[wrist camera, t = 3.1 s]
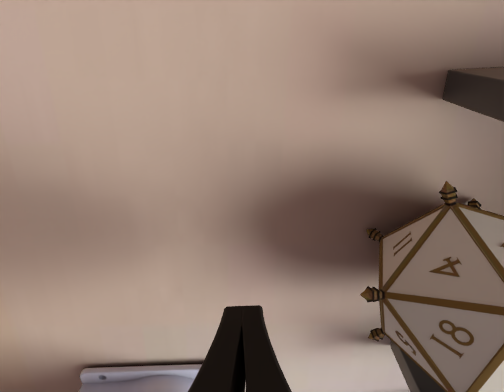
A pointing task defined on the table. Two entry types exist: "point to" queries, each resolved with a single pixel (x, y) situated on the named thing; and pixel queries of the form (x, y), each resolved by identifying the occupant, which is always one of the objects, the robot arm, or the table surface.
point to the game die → (446, 294)
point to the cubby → (482, 101)
